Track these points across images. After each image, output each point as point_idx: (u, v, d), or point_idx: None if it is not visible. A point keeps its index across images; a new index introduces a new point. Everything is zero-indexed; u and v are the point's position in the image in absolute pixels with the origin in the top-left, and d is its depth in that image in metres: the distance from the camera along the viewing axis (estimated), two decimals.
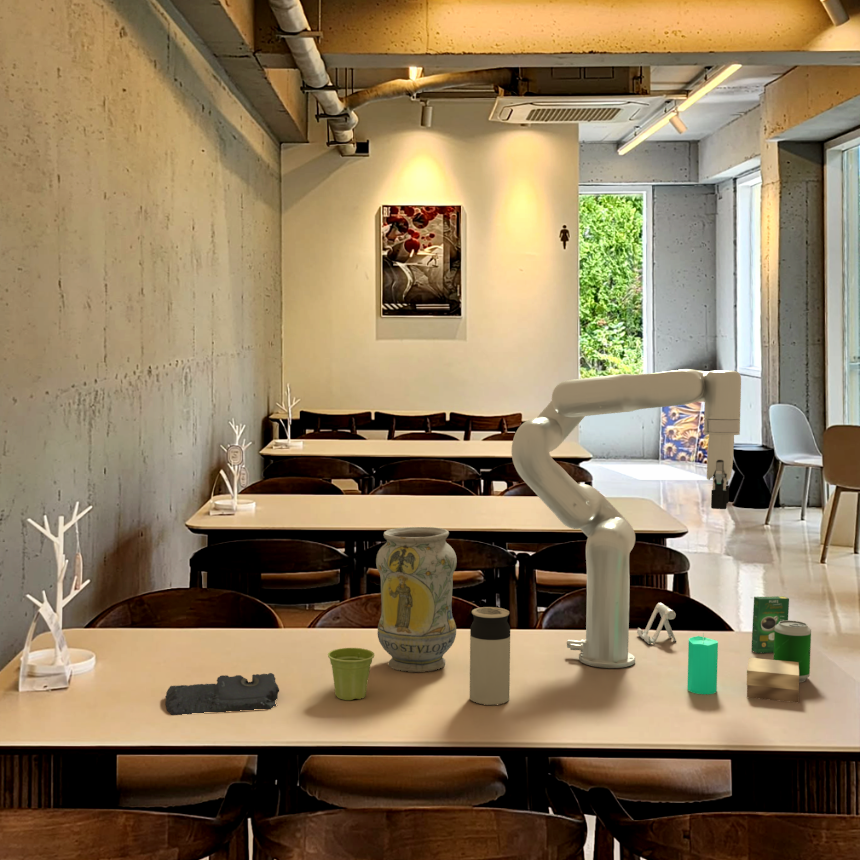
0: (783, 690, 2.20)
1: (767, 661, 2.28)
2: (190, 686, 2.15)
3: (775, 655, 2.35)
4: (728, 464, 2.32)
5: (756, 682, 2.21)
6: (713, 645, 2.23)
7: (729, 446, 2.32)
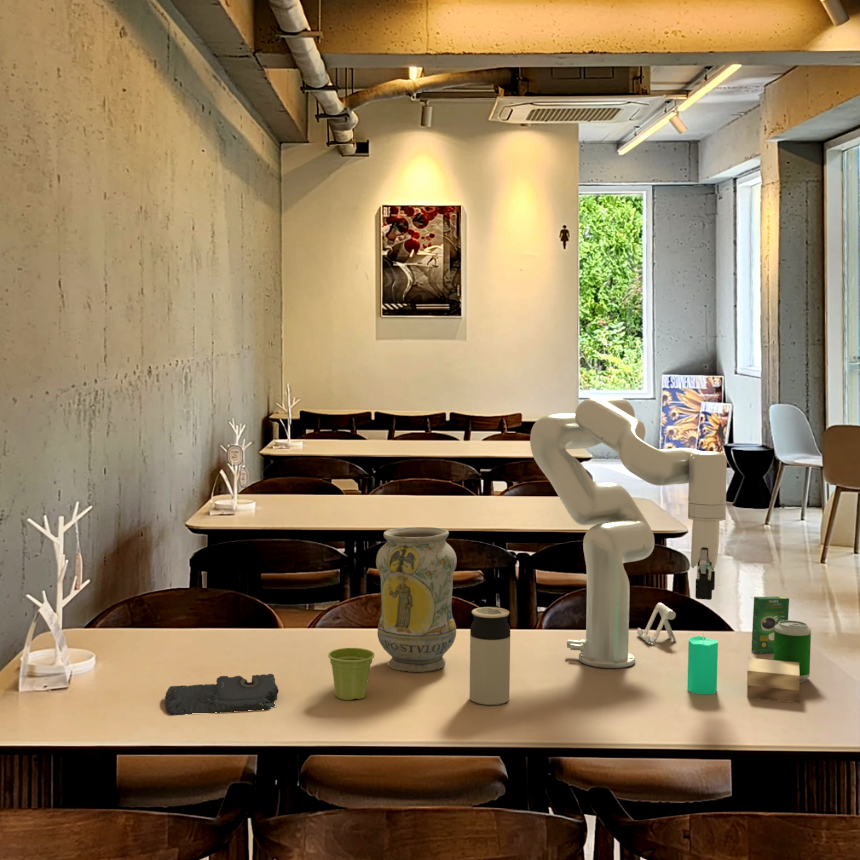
0: (783, 690, 2.20)
1: (768, 661, 2.28)
2: (189, 686, 2.15)
3: (775, 655, 2.35)
4: (713, 552, 2.20)
5: (756, 682, 2.21)
6: (713, 645, 2.23)
7: (714, 533, 2.20)
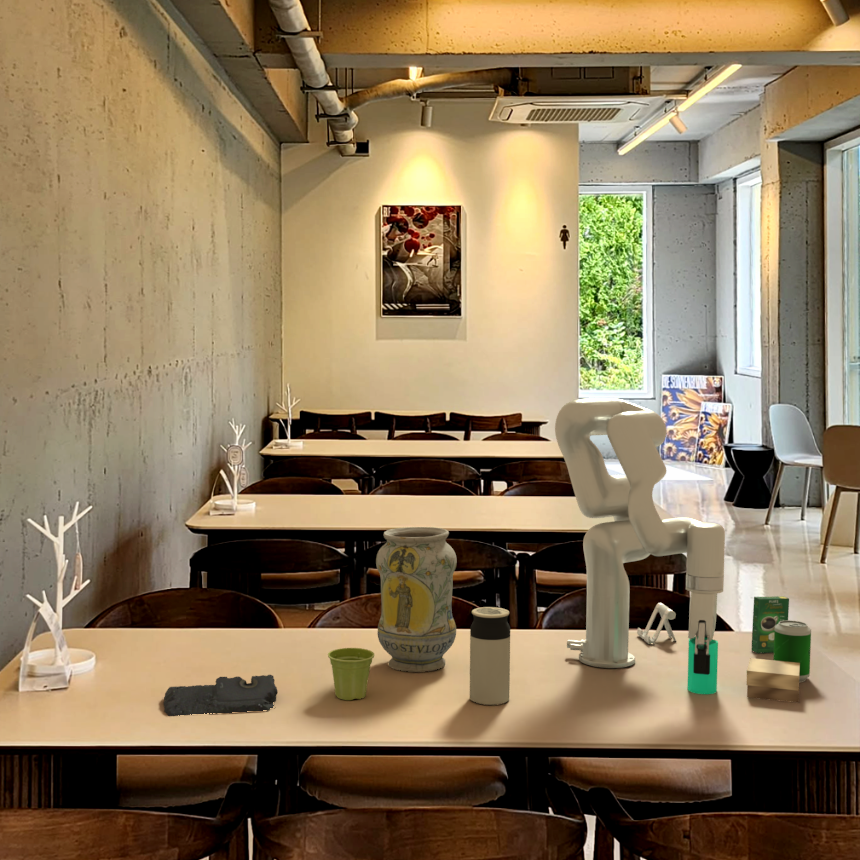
0: (783, 690, 2.20)
1: (768, 661, 2.28)
2: (188, 687, 2.15)
3: (775, 655, 2.35)
4: (711, 625, 2.21)
5: (756, 682, 2.21)
6: (713, 645, 2.23)
7: (712, 606, 2.21)
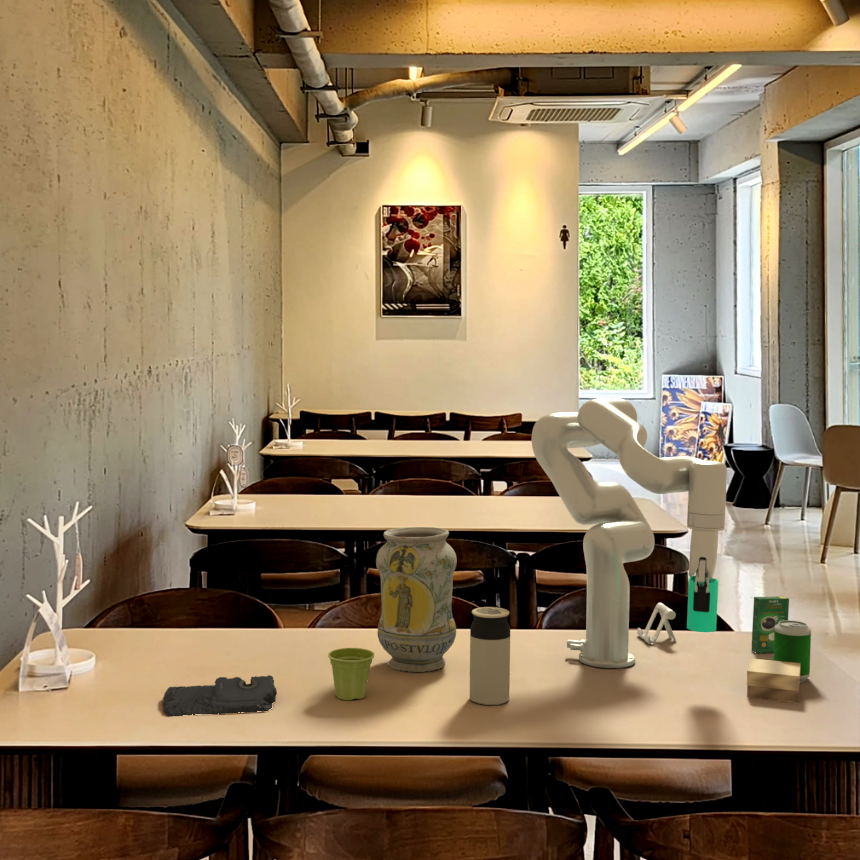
0: (783, 691, 2.20)
1: (769, 662, 2.28)
2: (188, 687, 2.14)
3: (775, 655, 2.35)
4: (711, 562, 2.20)
5: (756, 683, 2.21)
6: (713, 583, 2.23)
7: (713, 543, 2.20)
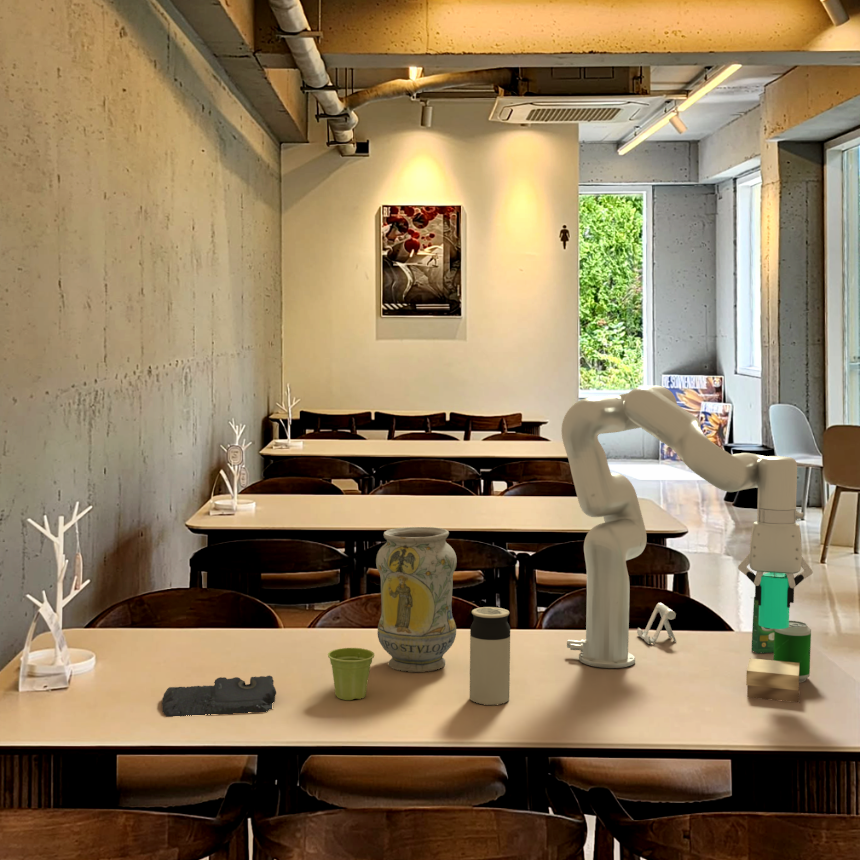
0: (783, 690, 2.20)
1: (768, 662, 2.28)
2: (187, 688, 2.14)
3: (775, 655, 2.35)
4: (750, 553, 2.23)
5: (755, 682, 2.21)
6: (764, 578, 2.22)
7: (753, 535, 2.23)
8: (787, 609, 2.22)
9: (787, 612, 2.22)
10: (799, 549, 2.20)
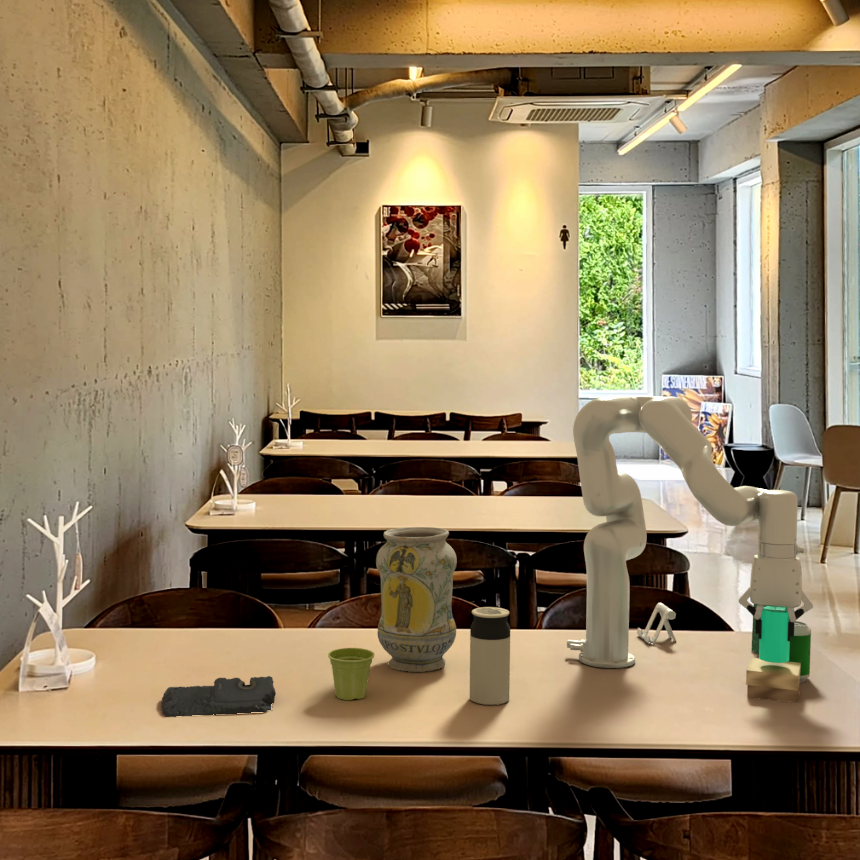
0: (783, 690, 2.20)
1: None
2: (186, 688, 2.14)
3: None
4: (751, 587, 2.24)
5: (755, 682, 2.22)
6: (765, 612, 2.23)
7: (754, 569, 2.23)
8: (787, 643, 2.22)
9: (787, 646, 2.22)
10: (799, 583, 2.20)
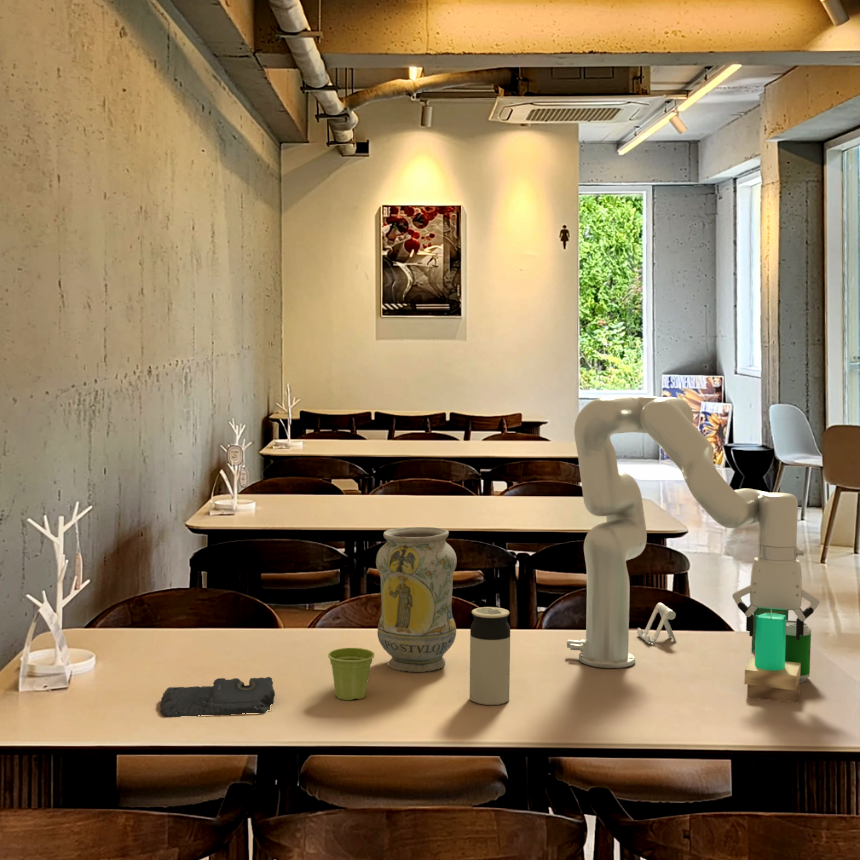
0: (783, 690, 2.20)
1: None
2: (186, 688, 2.14)
3: None
4: (751, 589, 2.24)
5: (753, 682, 2.22)
6: (760, 619, 2.23)
7: (754, 571, 2.23)
8: (783, 651, 2.23)
9: (783, 653, 2.23)
10: (799, 586, 2.20)
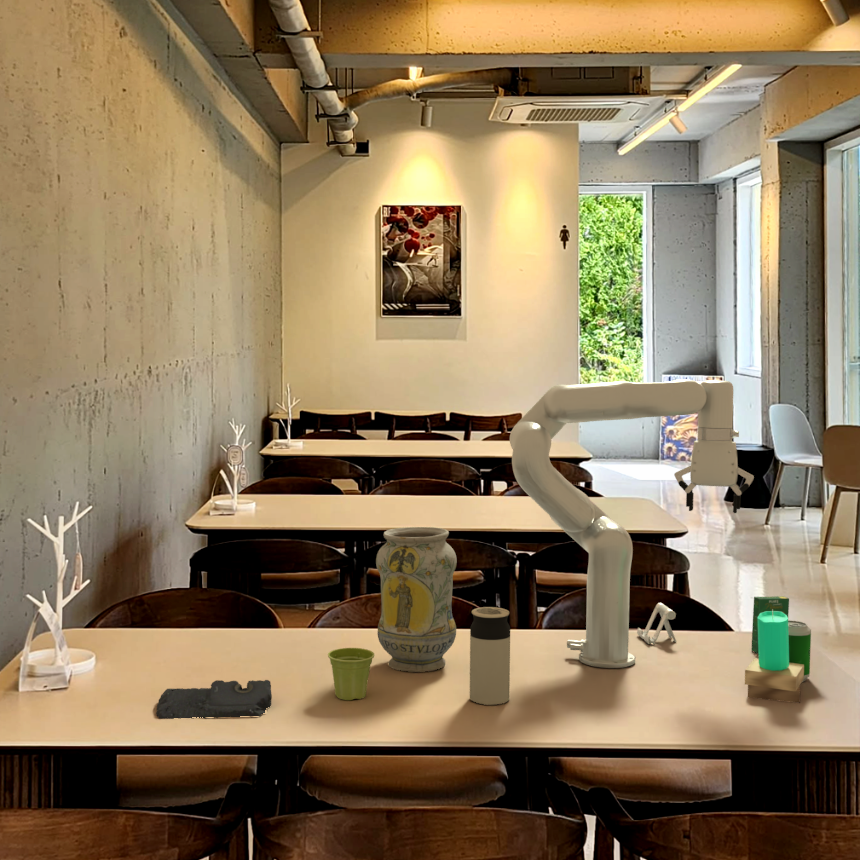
0: (784, 690, 2.20)
1: None
2: (183, 690, 2.13)
3: None
4: (691, 469, 2.45)
5: (754, 682, 2.22)
6: (770, 623, 2.20)
7: (694, 452, 2.45)
8: None
9: None
10: (735, 464, 2.42)
